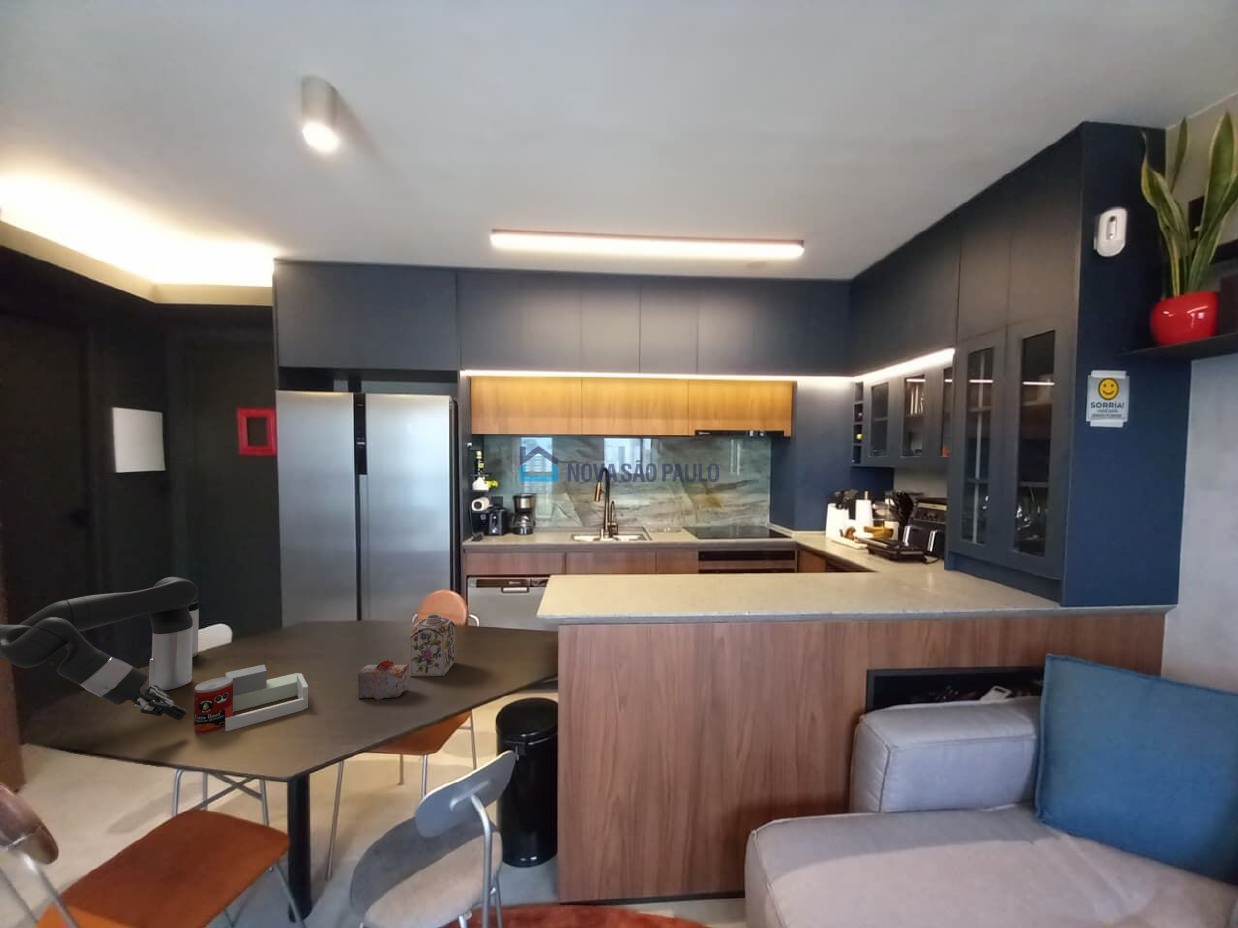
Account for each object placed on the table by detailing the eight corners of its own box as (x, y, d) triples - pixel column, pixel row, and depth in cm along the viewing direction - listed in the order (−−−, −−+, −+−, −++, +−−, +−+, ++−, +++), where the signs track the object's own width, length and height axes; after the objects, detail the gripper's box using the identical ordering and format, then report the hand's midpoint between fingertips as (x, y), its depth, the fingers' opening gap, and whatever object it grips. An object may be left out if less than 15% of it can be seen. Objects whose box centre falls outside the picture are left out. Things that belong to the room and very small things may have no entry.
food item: (412, 688, 147) (412, 656, 147) (401, 700, 139) (402, 666, 139) (366, 689, 146) (367, 657, 146) (353, 701, 138) (354, 667, 138)
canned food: (186, 735, 120) (187, 691, 120) (204, 719, 128) (205, 678, 128) (222, 730, 122) (223, 687, 123) (238, 715, 130) (239, 675, 130)
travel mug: (195, 651, 176) (196, 597, 176) (199, 656, 172) (200, 600, 172) (172, 656, 171) (173, 601, 172) (176, 661, 167) (177, 604, 167)
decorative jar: (456, 662, 167) (456, 610, 167) (445, 676, 155) (445, 621, 155) (421, 662, 166) (422, 611, 167) (407, 677, 155) (408, 621, 155)
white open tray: (215, 734, 121) (215, 698, 121) (213, 706, 135) (214, 674, 135) (308, 708, 134) (308, 676, 134) (297, 685, 148) (298, 656, 148)
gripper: (103, 685, 116) (170, 719, 124) (93, 705, 106) (166, 741, 114) (134, 658, 120) (197, 692, 128) (128, 675, 110) (197, 711, 118)
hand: (183, 715), depth 121 cm, fingers closed
